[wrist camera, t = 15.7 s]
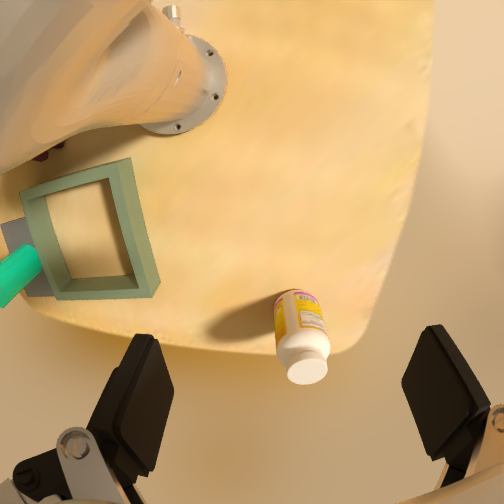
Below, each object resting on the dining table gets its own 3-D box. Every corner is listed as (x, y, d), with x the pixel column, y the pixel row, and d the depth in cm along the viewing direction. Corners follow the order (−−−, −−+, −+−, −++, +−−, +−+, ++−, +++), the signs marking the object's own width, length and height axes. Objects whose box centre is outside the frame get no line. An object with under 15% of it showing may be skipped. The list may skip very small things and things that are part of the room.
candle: (47, 270, 40) (6, 311, 29) (29, 277, 41) (-9, 314, 30) (32, 239, 37) (-13, 275, 27) (14, 248, 38) (-27, 282, 27)
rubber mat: (1, 224, 37) (0, 224, 36) (36, 213, 36) (34, 214, 36) (28, 295, 43) (27, 296, 43) (65, 294, 42) (64, 296, 42)
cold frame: (35, 185, 34) (19, 192, 30) (130, 157, 33) (116, 162, 29) (68, 287, 42) (56, 300, 38) (160, 281, 40) (152, 297, 37)
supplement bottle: (282, 328, 44) (287, 395, 32) (266, 296, 41) (268, 363, 30) (323, 315, 42) (340, 379, 31) (311, 281, 40) (328, 345, 28)
